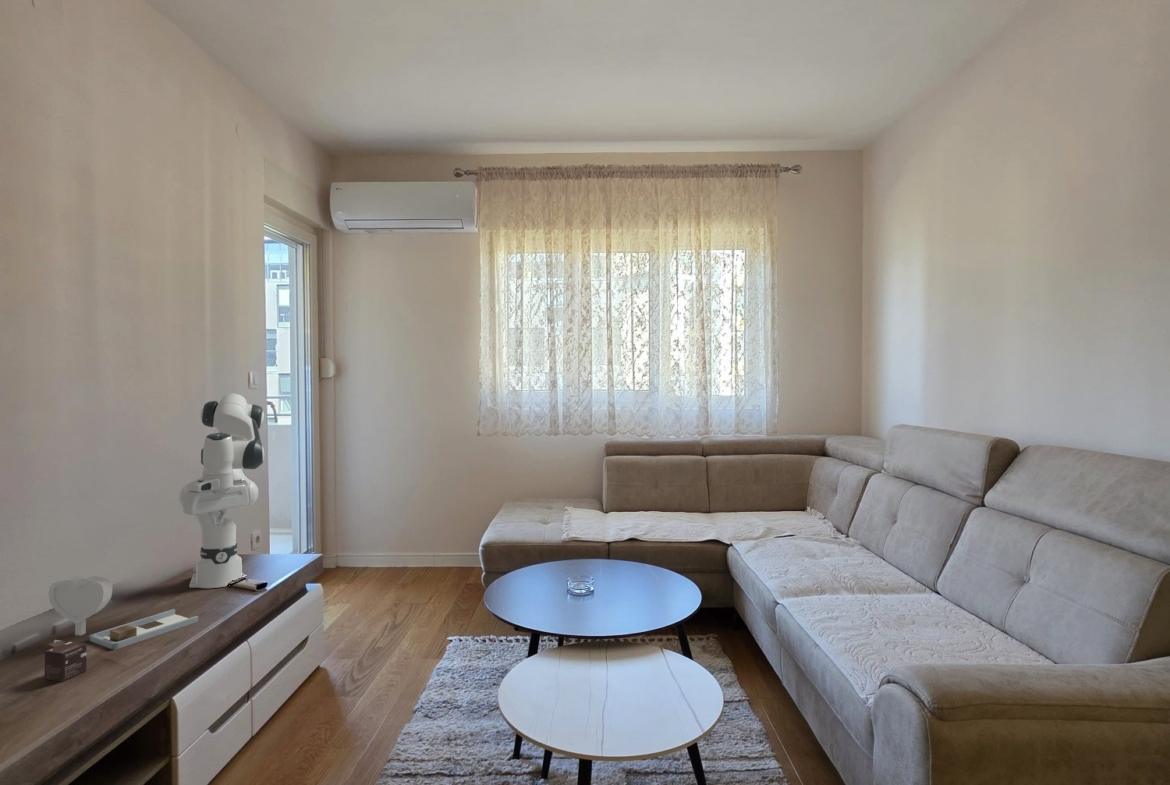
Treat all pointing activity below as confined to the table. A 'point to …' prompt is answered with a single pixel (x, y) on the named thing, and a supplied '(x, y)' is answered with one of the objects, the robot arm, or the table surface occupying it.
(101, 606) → the heart sculpture
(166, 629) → the track
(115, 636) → the walnut block
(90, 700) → the table surface
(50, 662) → the box
